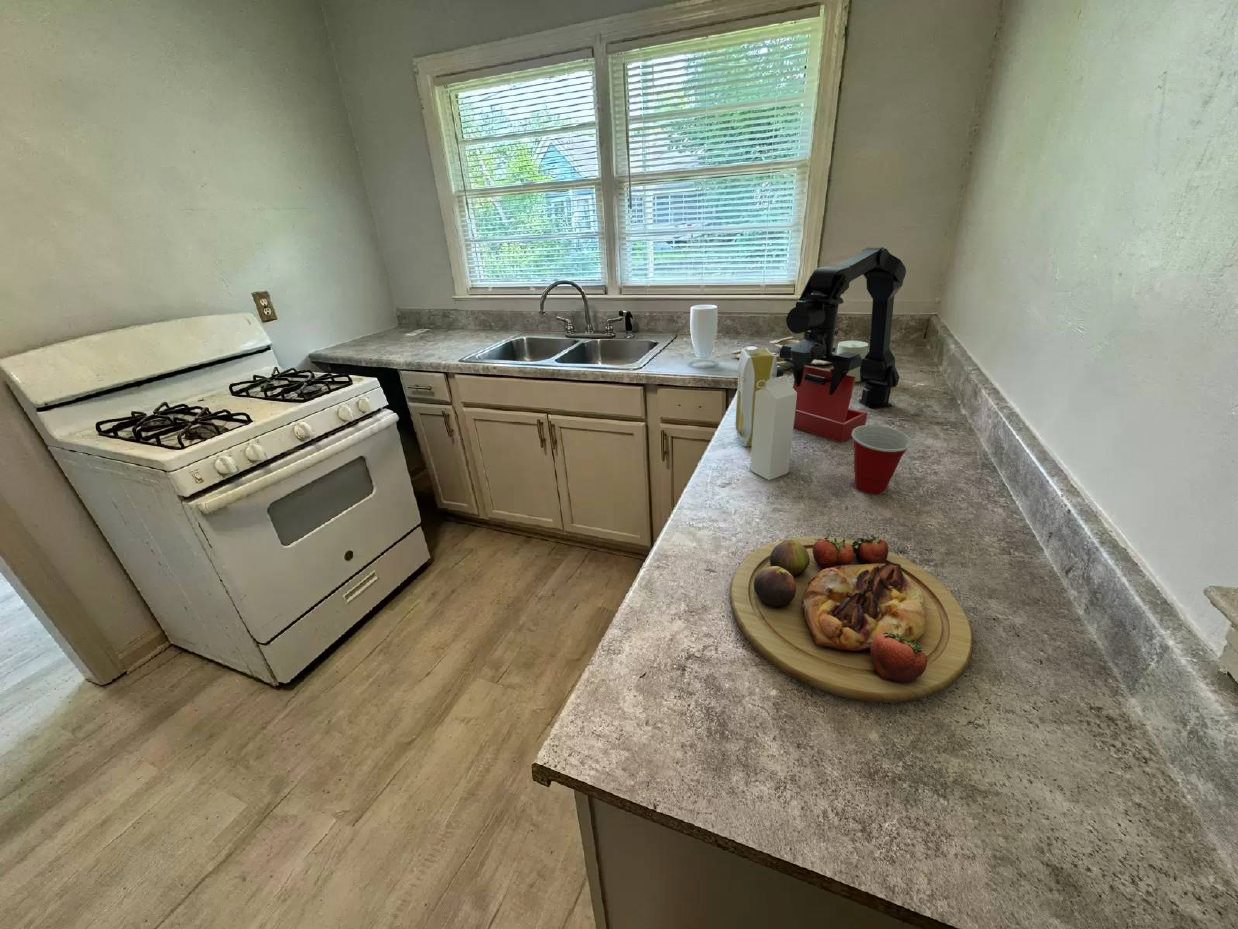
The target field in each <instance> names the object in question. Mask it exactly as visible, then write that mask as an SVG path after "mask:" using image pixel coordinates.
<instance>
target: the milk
mask: <svg viewBox="0 0 1238 929" xmlns="http://www.w3.org/2000/svg"><path fill="white" fill-rule="evenodd" d="M788 379H789V375H788V374H784V376H781V377H777V378H773V379H770V380H767V382H766V388H763V389H761V390H758V391H756V393H755V408H754V422H753V437H752V446H751V453H750V465H749V467H750V468H749V470H750V471H751V472H753V473H755V474H756V475H758V476H760V477H762V478H764V479H766V480H767V481H772V480H774V479H777V478H780V477H781V476H784V475H788V474H789V472H790V462H791V453H792V445H793V444H792V443H793V434H794V428H795V427H794V418H795V409H796V400H797V392H796V391H795V390H794V389H793V385H791V384H790V383H789V380H788Z"/></svg>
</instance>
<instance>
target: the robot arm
mask: <svg viewBox="0 0 1238 929" xmlns="http://www.w3.org/2000/svg"><path fill="white" fill-rule="evenodd" d="M906 274H907V269H906V265H905V264H904V263H903V261H902V260H901V259H900V258H899V257H897V256H895V255H893V254H892V253H890V251H889V250H888V249H887V248H885V247H884V246H871V247H870V246H868V247H865V248H863V249H862V250H861V251H859V252H858V253H856V254H855V255H853V256H851V257H849V258H847V259H846V260H843V261H842V262H840V263H838V264H834V265H833V264H832V265H825V266H820V267H817V268H816V269H814V270H813V272H812V273H811V275H810V276H809V278H808V280H807V282H806V284H805V286H804V287H803V290H802V292H801V294H800V296H799V299H798V300H796V301H795V307H793V308H791V309H790V310H789V311H788V313H787V315H786V318H785V322H786V326H787V329H788V330H789V331H790V332H791V333H793V334H802V333H804V334H803V335H804V336H803V339H802V340H799V341H800V342H798V343H794V342H793V343H790V344H787V345H783V346H782V347H781V348H780V350H779V349H778V350H779V351H778V352H779V353H778V355H779V357H780V358H785V359H783V361H785V362H787V363H788V364H789V365H790V369H791V372H792V375H793V381H794V380H795V383H796V386H797V387H799V386H800V384H801V381H802V377H803V372H804V367H805V366H809V365H812V364H811V363H812V361H813V360H814V359H815V360H822V361H827V362H832V363H831V366H832V368H829V371H831V373H832V378H831V383H830V390H829V395H833V394H834V392H835V391H836V389H837V387H838V386H839V384H840V383H841V381H842V380H843V378H844V377H845V376H846V374H847V373H848V372H849V371H850V370H853V369H855V368H857V367H860V366H861V367H860V381H859V383H864V387H863V388H862V392H861V398H859V399H858V402H859V403H861V404H863V405H865V406H866V407H867V408H870V409H877V408H885V407H892V406H893V403H891V402H889V401H890V396H891V391H892V388H897V385H899V384H898V383H899V381H900V378H901V377H900V375H899V372H898V370H897V367H896V358H895V356H894V354H893V352H892V351H891V349H890V346H891V338H892V337H891V336H892V324H893V315H894V302H895V296H896V294H897V293H898V292H899V291H900V289H901V288H902V287H903V285H904V279H905V277H906ZM861 276H863V277H864V279H865V280H866V283H865V284H866V290H867V293H868V294H869V295H870V297H871V299H872V307H871V321H870V334H869V346H868V348H869V349H868V351H867V354H866V356H865V357H864V358H863V359H862V358H861V356H860V354H856V353H850V352H844V353H841V354H838V355H837V354H835V352H836V351H837V347H836V346H834V342H835V336H837V335H838V334H839V329H836V327H837V320H838V312H839V307H840V305H842V304H844V299H843V298H842V297H841V296H842V295H843V294H844V293H845V292H846V291H847V290H848V289H849V288H850V283H851V282H853V281H854V280H856V279H858V278H859V277H861ZM823 356H826V357H823Z"/></svg>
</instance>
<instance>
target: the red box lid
mask: <svg viewBox="0 0 1238 929" xmlns="http://www.w3.org/2000/svg"><path fill="white" fill-rule="evenodd" d="M831 378H832V373H831V371H830V370H828V369H823V368H818V367H813V366H809V365H805V367H804V372H803V377H802V381H801V384H800V386H799V387H797V386H796V383H795V380H794V379H793V385H792V387H793V389H794V390H795V391H796V392H797V400H796V410H800V411H803V412H807V413H810V414H813V415H817V416H820V417H824V418H827V419H831V420H834V421H837V422H841V423H845V420H846V416H847V412H848V408H849V409H850V404H851V399H852V395H853V391H854V387H855V384H856V382H855V379H856V376H851V375H847V374H846V376H845V377H844V378H843V380H842V381H841V383H840V384H839V386H838V387H837V389H836V391H835V392H834V394H833V395H829V390H830V383H831Z"/></svg>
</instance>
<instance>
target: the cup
mask: <svg viewBox="0 0 1238 929" xmlns="http://www.w3.org/2000/svg"><path fill="white" fill-rule="evenodd" d="M718 308H719V307H718V306H717V305H716V304H715V305H714V304H696V305H692V306H691V307H690V314H689V315H690V316H689V325H690V327H689V328H690V329H689V330H690V337H691V342H692V347H693V350H694V353H695V355H696V357H697V359H709V358H710V357H711V354H712V352H713V350H714V346H715V343H716V338H717V334H718V321H719V320H718V318H719V315H718V314H719V313H718V312H719V310H718Z"/></svg>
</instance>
